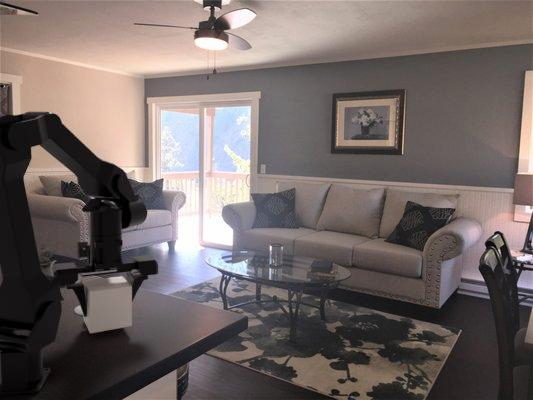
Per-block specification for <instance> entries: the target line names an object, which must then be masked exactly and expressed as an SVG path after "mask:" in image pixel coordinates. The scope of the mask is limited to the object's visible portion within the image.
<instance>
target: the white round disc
mask: <svg viewBox="0 0 533 400" xmlns="http://www.w3.org/2000/svg"><path fill="white" fill-rule="evenodd" d="M73 312H74V313H75V314H76V315H78V316H83V312H82V309H81V307H80V305H78V306H76V307H75V308H74V311H73Z"/></svg>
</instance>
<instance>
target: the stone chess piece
mask: <svg viewBox="0 0 533 400" xmlns="http://www.w3.org/2000/svg"><path fill="white" fill-rule="evenodd" d="M37 251H38V256H39V262H40V267H41V270H42V272H43V273H44V274H45V275H48V276H51V268H52V267H51V263H52V262H53V261H52V260H51V250H50V249H49V248H48V247H45V244H44V243H42V244H41V247H40V248H37Z"/></svg>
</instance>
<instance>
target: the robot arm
mask: <svg viewBox="0 0 533 400" xmlns="http://www.w3.org/2000/svg"><path fill="white" fill-rule="evenodd" d="M61 119H62V118H60V116H59V115H58V114H56V113H54V112H52V111H27V112H24V113H19V114H0V270H1V275H2V280H1V283H0V396H6V395H8V396H9V395H19V394H21V395H22V394H32V393H33V394H35V393H38V392H40V390H41V388H42V387H43V385H44V383H45V381H46V380H47V378H48V377H49V374H50V373H51V367H43V364H44V363H43V349H44V348H45V347H47V346H49V345H51V344H52V343H54V342H55V341H56V339H57V335H58V330H59V325H60V320H61V317H62V310H63V309H62V308H63V306H62V302H63V301H64V297H63V295H62V292H61V287H63V286H64V287H65V289H66V290H72V291H73V293H74V294H75V296H76V299H77V300H78V301H77V302H78V303H79V306H80V307H81V309H82V312H83V315H84V317H86V316H87V306H86V297H85V289H84V284H83V280H82V278H85V277H93V276H101V275H109V274H111V275H112V274H119V273H126V281H127V282H128V283H129V284H130V285H131V286H132V303H133V301H134V299H135V297H136V295H137V293H138V291H139V289H140V288H141V287H142V286H141V285H142V284H143V283H144V281H147V280H149V276H154V275H155V276H156V275H158V274H159V263H158V261H157V260H156V259H155V258H153V257H152V256H151V255H149V254H146V255H136V256H132V257H131V261H125V262H123V244H124V243H123V241H124V240H123V230H124V229H129V228H133V227H137V226H141V225H142V224H144V223H145V221H146V219H147V217H148V209H147V207H146V205H145V203H144V202H143V201H142V200H140V199H139V198H140V196H139V195H140V194H139V193H135V191H134V189H133V187H132V185H131V182H130V180H129V178H128V175H127V173H126V172H125V170H124V169H123V168H121V167H120V166H118V165H116V164H115V163H112V162H109V161H107V160H104V159H101V158H100V157H99V156H97V155H96V154H95V153H94V152H93V151H92V150H91V149H89V147H88V146H86V144H85V143H84V142H82V140H80V138H78V137H77V136H76V134H74V133H73V131H71V130H70V129H69V128H68V127H67V126H66V125H65V124H64V123H62V120H61ZM37 146H39V147H41V148H42V149H44V151H45V152H47V153H48V154H49V155H51V157H53V158H54V159H56V161H58V162H59V163H60V164H62V165H63V166H64V167H65V168H66V169H67V170H69V171H70V172H72V174H73V175H74V176H76V178H77V179H76V180H77V185H78V187H80V188H81V190H82V191H83V193H84V194H85V195H86V196H88V197H89V198H90V199H89V201H88V202H87V203H86V204H85V205H84V206H83V207H82V208H81V211H82V212H83V213H89V243H88V241H79V242H76V258H77V259H78V260H79V259H86V261H87V264H88V265H87V266H86V265H85V266H77V264H76V263H75V262H74V261H73V262H64V263H63V262H62V263H55V264H53V265H52V267H51V276H48V275H45V274H44V273H43V272H42V270H41V267H40V262H39V256H38V251H37V250H38V247H37V242H36V237H35V231H34V227H33V226H34V225H33V220H32V216H31V210H30V206H29V200H28V195H27V190H26V184H25V180H24V179H25V178H24V177H25V175H26V173H27V171H28V170H27V169H28V167H29V166H30V163H31V162H32V148H34V147H37ZM83 315H82V316H83ZM15 329H16V330H15ZM19 330H21V331H19ZM26 331H27V332H26Z"/></svg>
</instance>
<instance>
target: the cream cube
mask: <svg viewBox="0 0 533 400" xmlns="http://www.w3.org/2000/svg"><path fill="white" fill-rule="evenodd" d="M82 283H83V284H84V289H85V297H86V306H87V316H86V317H84V315H82V316H83V322H84V323H85V326H86V327H87V330H88V332H89V334H95V333H101V332H105V331H110V330H117V329H123V328H127V327H133V302H132V286H131V285H130V284H129V283H128V282H127V278H125V277H124V276H123V275H120V276H112V277H103V278H95V279H87V280H86V279H85V280H82Z"/></svg>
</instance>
